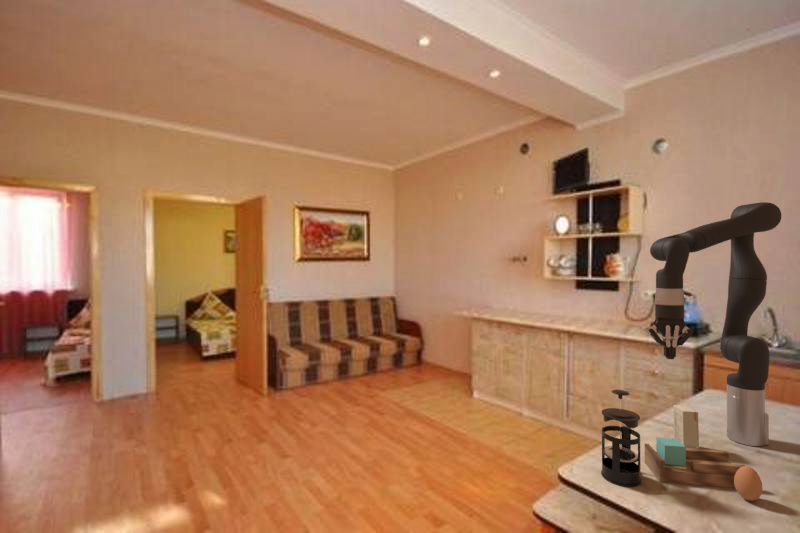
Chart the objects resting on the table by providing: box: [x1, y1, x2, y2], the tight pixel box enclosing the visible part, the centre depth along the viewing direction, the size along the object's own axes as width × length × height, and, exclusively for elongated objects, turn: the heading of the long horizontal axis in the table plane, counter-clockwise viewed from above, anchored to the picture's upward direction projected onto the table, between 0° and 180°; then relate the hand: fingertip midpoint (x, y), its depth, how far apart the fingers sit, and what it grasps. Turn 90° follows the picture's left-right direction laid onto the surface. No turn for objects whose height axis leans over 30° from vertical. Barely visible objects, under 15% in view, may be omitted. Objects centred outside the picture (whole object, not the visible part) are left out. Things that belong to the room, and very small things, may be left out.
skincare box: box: [673, 404, 700, 449], centre depth 123 cm, size 6×4×12 cm
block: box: [655, 436, 686, 466], centre depth 109 cm, size 5×5×5 cm
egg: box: [734, 465, 763, 502], centre depth 96 cm, size 5×5×8 cm
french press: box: [600, 389, 642, 488], centre depth 107 cm, size 12×9×23 cm
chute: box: [644, 443, 746, 489], centre depth 108 cm, size 20×10×6 cm, turn 79°
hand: (669, 358), depth 125 cm, fingers closed
